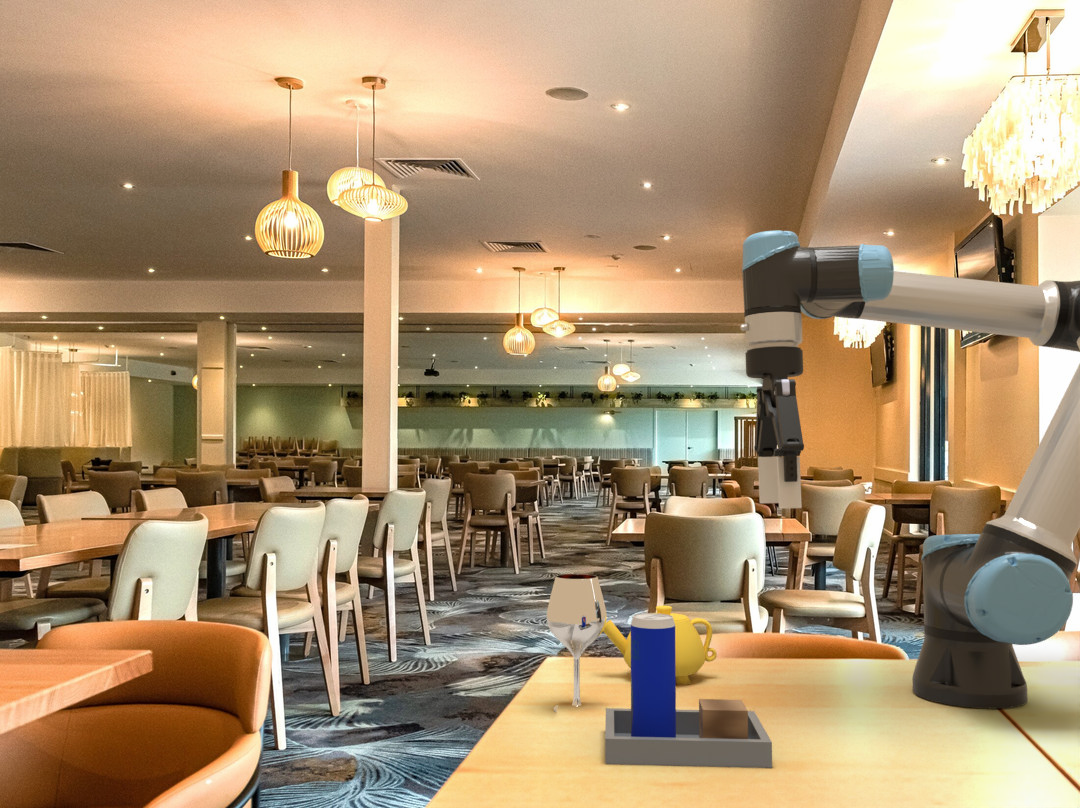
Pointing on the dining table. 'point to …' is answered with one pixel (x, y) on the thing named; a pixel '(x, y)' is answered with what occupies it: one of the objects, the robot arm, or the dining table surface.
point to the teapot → (686, 644)
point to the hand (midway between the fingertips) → (779, 505)
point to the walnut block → (723, 719)
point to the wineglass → (576, 617)
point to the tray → (684, 744)
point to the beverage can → (653, 676)
